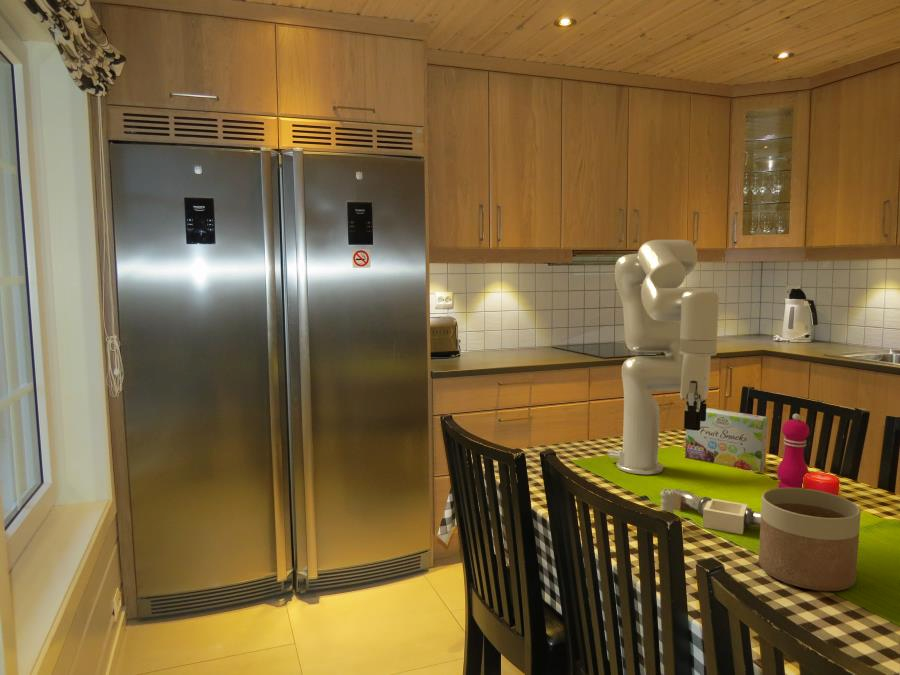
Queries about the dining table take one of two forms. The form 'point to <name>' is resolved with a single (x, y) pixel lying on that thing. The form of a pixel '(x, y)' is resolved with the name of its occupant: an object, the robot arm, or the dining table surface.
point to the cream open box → (724, 516)
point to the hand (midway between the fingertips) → (695, 425)
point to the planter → (809, 538)
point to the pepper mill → (793, 454)
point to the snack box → (729, 440)
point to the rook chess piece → (667, 500)
